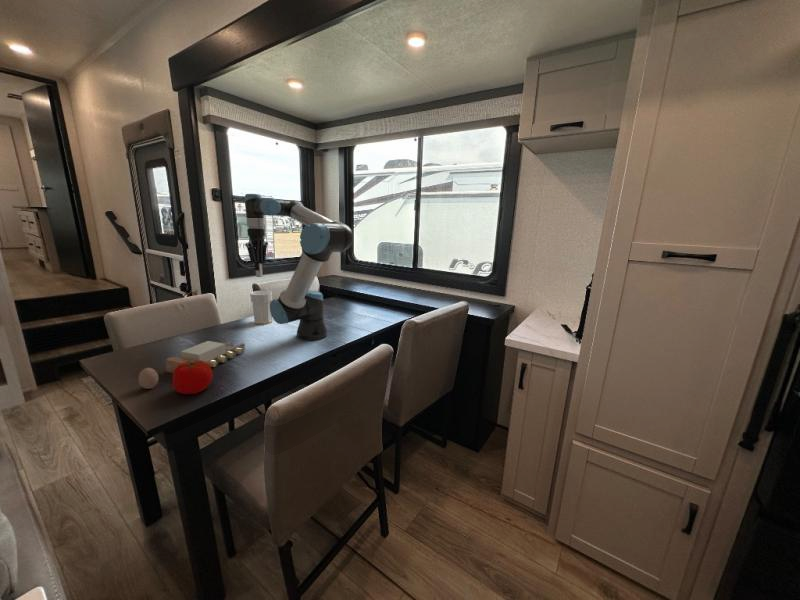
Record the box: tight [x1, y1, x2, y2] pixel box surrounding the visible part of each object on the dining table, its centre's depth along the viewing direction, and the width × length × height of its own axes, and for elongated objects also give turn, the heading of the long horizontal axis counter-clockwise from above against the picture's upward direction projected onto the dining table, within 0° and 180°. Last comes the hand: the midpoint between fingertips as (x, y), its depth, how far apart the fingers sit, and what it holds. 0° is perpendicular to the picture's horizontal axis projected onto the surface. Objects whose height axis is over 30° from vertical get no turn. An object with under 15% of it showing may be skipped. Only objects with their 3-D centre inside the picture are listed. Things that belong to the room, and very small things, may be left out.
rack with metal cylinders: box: [165, 341, 246, 374], centre depth 129 cm, size 14×27×5 cm, turn 163°
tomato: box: [172, 360, 214, 395], centre depth 105 cm, size 12×12×10 cm
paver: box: [180, 340, 226, 362], centre depth 125 cm, size 9×12×4 cm
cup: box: [249, 290, 273, 326], centre depth 177 cm, size 11×11×17 cm
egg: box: [137, 367, 160, 390], centre depth 106 cm, size 5×5×7 cm
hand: (259, 276), depth 156 cm, fingers closed
